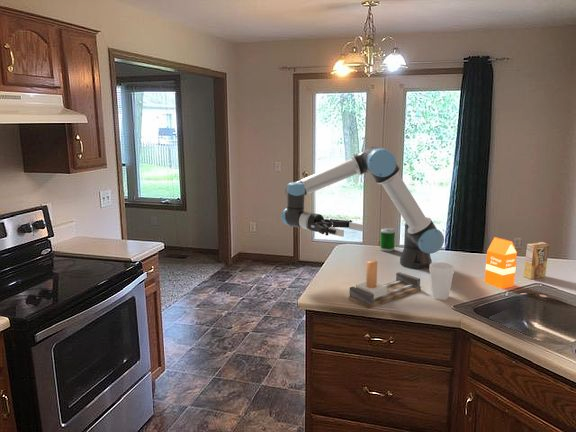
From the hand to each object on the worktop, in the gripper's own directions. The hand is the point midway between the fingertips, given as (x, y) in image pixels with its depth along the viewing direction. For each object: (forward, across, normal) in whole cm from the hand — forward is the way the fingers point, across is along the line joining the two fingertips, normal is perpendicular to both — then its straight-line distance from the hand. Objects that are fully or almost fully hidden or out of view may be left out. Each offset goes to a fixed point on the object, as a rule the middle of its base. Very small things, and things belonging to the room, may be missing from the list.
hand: (353, 230), depth 184 cm
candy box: (+51, -71, -24) cm, 90 cm away
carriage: (+10, 0, -24) cm, 26 cm away
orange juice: (+42, -51, -24) cm, 71 cm away
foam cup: (+29, -21, -26) cm, 44 cm away
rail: (+12, -8, -26) cm, 30 cm away
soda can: (-22, -66, -26) cm, 74 cm away
